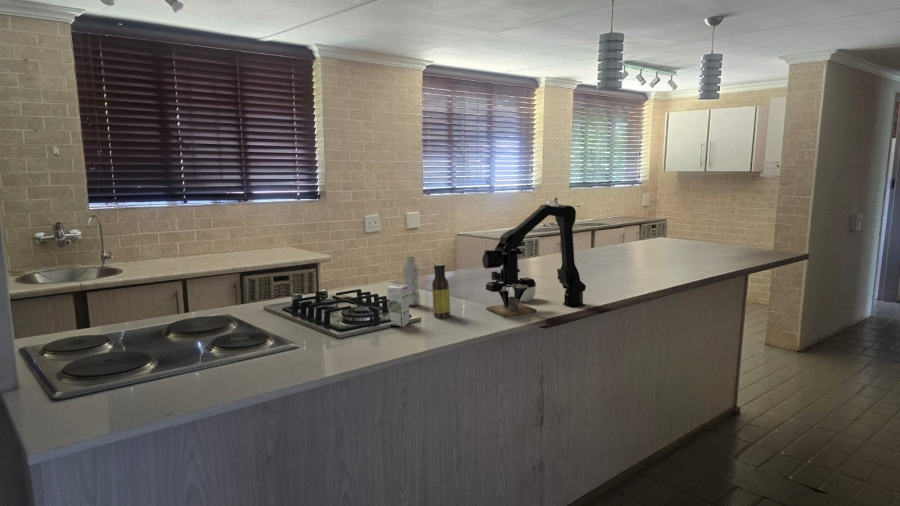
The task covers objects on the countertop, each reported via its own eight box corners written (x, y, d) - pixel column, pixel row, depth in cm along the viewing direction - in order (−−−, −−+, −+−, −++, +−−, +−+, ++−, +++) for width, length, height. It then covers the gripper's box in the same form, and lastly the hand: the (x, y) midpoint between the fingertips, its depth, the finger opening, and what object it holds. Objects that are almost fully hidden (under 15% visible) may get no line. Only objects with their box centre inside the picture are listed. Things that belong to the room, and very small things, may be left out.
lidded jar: (535, 298, 243) (535, 276, 242) (536, 304, 233) (536, 281, 231) (510, 298, 244) (509, 276, 243) (510, 304, 234) (509, 281, 232)
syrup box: (410, 323, 209) (408, 284, 207) (402, 327, 204) (400, 287, 202) (396, 322, 212) (395, 283, 210) (388, 326, 207) (386, 286, 204)
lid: (517, 304, 229) (517, 292, 229) (536, 312, 217) (536, 299, 216) (486, 309, 224) (485, 296, 223) (504, 317, 211) (504, 303, 210)
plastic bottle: (418, 307, 234) (416, 258, 231) (402, 307, 235) (400, 258, 232) (422, 303, 240) (420, 256, 237) (406, 303, 241) (404, 256, 239)
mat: (518, 305, 231) (518, 304, 231) (540, 314, 216) (540, 313, 216) (482, 311, 224) (482, 310, 224) (503, 320, 210) (503, 319, 210)
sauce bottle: (453, 316, 217) (451, 264, 214) (439, 319, 214) (437, 266, 211) (444, 313, 222) (442, 262, 220) (430, 316, 219) (428, 264, 216)
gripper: (520, 261, 229) (520, 299, 231) (478, 266, 221) (479, 305, 223) (535, 265, 219) (536, 305, 221) (492, 270, 211) (493, 311, 213)
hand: (511, 306), depth 220 cm, fingers closed on lid, 4 cm apart
